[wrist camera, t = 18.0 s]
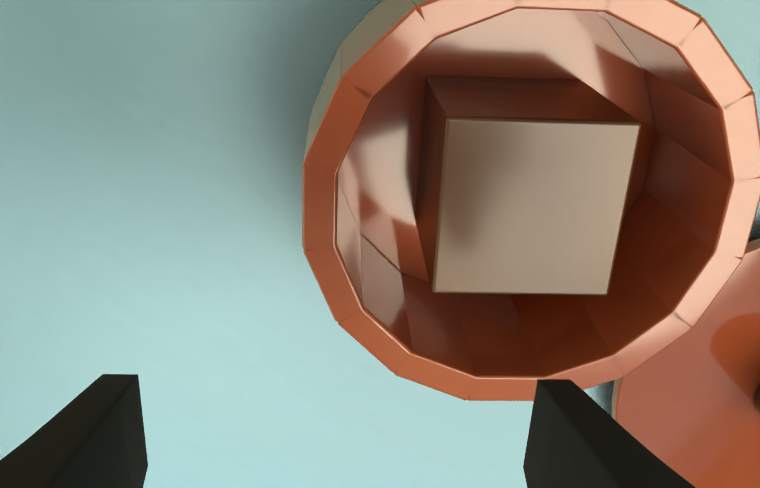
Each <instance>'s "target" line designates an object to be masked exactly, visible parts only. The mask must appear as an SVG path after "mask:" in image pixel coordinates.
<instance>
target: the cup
mask: <svg viewBox="0 0 760 488" xmlns="http://www.w3.org/2000/svg"><path fill="white" fill-rule="evenodd" d="M426 76H459V77H489V78H519V79H549V80H579V81H583V82H585V83H586V84H588V85H589V86H590V87H592V88H593V89H595V90H596V91H597V92H599V93H600V94H602V95H603V96H604V97H606V98H607V99H609V100H610V101H611V102H613V103H614V104H616V105H617V106H618V107H620V108H621V109H623V110H624V111H625V112H627V113H628V114H630V115H631V116H632V117H634V118H635V119H637V120H638V121H639V122H641V129H640V135H639V140H638V145H637V150H636V155H635V160H634V165H633V170H632V175H631V180H630V185H629V190H628V195H627V201H626V206H625V211H624V216H623V221H622V226H621V231H620V236H619V241H618V246H617V251H616V256H615V262H614V267H613V272H612V277H611V282H610V287H609V292H608V295H606V296H594V295H529V294H465V293H433V292H432V290H431V286H430V282H429V278H428V273H427V269H426V265H425V260H424V256H423V252H422V247H421V243H420V239H419V234H418V230H417V226H416V208H417V193H418V179H419V164H420V149H421V134H422V120H423V105H424V90H425V78H426ZM752 90H753V89H752V86H751V85H750V83H749V82H748V81H747V79H746V78H745V76H744V75H743V73H742V72H741V70H740V69H739V68H738V66H737V65H736V63H735V62H734V60H733V59H732V57H731V56H730V54H729V53H728V52H727V50H726V49H725V47H724V46H723V44H722V43H721V41H720V40H719V39H718V37H717V36H716V34H715V33H714V31H713V30H712V28H711V27H710V26H709V24H708V23H707V21H706V20H705V19H704V18H703V17H701V15H700V14H698V13H697V12H695V11H693V10H691V9H689V8H687V7H685V6H683V5H682V4H680V3H678V2H676V1H674V0H382V1H381V2H380V3H379V4H378V5H376V6H375V7H374V8H373V9H372V10H370V11H369V13H368V14H367V15H366V16H365V17H364V18H363V19H362V20H361V21H360V22H359V24H358V25H357V26H356V27H355V28H354V29H353V30H352V32H351V33H350V34H349V35H348V36H347V37H346V38H345V39H344V40H343V42H342V43H341V44H340V46H339V48H338V50H337V53H336V55H335V57H334V60H333V62H332V64H331V65H330V67H329V69H328V71H327V73H326V76H325V79H324V81H323V84H322V87H321V90H320V92H319V95H318V97H317V99H316V101H315V104H314V106H313V108H312V111H311V116H310V122H309V128H308V135H307V141H306V147H305V153H304V159H303V165H302V246H303V249H304V254H305V256H306V258H307V260H308V263H309V265H310V267H311V269H312V271H313V274H314V276H315V278H316V280H317V282H318V284H319V287H320V289H321V291H322V293H323V295H324V298H325V300H326V302H327V304H328V306H329V308H330V311H331V313H332V315H333V317H334V319H335V320H336V321H337V322H338V324H339V325H340V326H341V327H342V328H343V329H344V330H345V331H347V332H348V333H349V334H350V335H351V336H352V337H353V338H354V339H356V340H357V341H358V342H359V343H360V344H361V345H362V346H363V347H365V348H366V349H367V350H368V351H369V352H370V353H371V354H372V355H374V356H375V357H376V358H377V359H378V360H379V361H380V362H381V363H383V364H384V365H385V366H386V367H387V368H388V369H389V370H390V371H392V372H394V374H395V375H397V376H400V377H402V378H405V379H408V380H411V381H413V382H416V383H419V384H422V385H424V386H427V387H430V388H433V389H435V390H438V391H441V392H444V393H447V394H449V395H452V396H455V397H458V398H460V399H463V400H467V399H468V400H470V401H534V398H535V392H536V386H537V380H538V379H570V380H572V381H573V382H574V383H575V384H576V385H577V386H579V387H580V388H581V389H582V390H584V389H587V388H590V387H594V386H597V385H600V384H603V383H606V382H609V381H612V380H615V379H619V378H622V377H624V375H625V376H626V375H627V374H629V373H630V372H632V371H633V370H635V369H636V368H637V367H639V366H640V365H642V364H643V363H644V362H646V361H647V360H649V359H650V358H651V357H653V356H654V355H656V354H657V353H658V352H660V351H661V350H663V349H664V348H666V347H667V346H668V345H670V344H671V343H673V342H674V341H675V340H677V339H678V338H680V337H681V336H682V335H684V334H685V333H687V332H688V331H690V330H691V329H692V327H694V326H695V325H696V323H697V322H698V321H699V319H700V318H701V317H702V315H703V314H704V313H705V311H706V310H707V308H708V307H709V306H710V304H711V303H712V302H713V300H714V299H715V297H716V296H717V295H718V293H719V292H720V291H721V289H722V288H723V287H724V285H725V284H726V282H727V281H728V280H729V278H730V277H731V276H732V274H733V273H734V272H735V270H736V269H737V267H738V266H739V265H740V263H741V262H742V260H743V259H742V258H743V257H744V255H745V251H746V248H747V244H748V241H749V237H750V233H751V230H752V226H753V223H754V219H755V216H756V212H757V208H758V205H759V201H760V129H759V122H758V115H757V108H756V101H755V94H754V92H753V91H752Z"/></svg>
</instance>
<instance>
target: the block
mask: <svg viewBox="0 0 760 488" xmlns="http://www.w3.org/2000/svg"><path fill="white" fill-rule="evenodd" d="M640 129H641V122H639V121H638V120H637V119H635V118H634V117H632V116H631V115H630V114H628V113H627V112H625V111H624V110H623V109H621V108H620V107H618V106H617V105H616V104H614V103H613V102H611V101H610V100H609V99H607V98H606V97H604V96H603V95H602V94H600V93H599V92H597V91H596V90H595V89H593V88H592V87H590V86H589V85H588V84H586V83H585V82H583V81H579V80H549V79H519V78H489V77H459V76H426V78H425V90H424V105H423V120H422V134H421V149H420V164H419V179H418V193H417V208H416V226H417V230H418V234H419V239H420V243H421V247H422V252H423V256H424V260H425V265H426V269H427V273H428V278H429V282H430V286H431V290H432V292H433V293H465V294H529V295H594V296H606V295H608V292H609V287H610V282H611V277H612V272H613V267H614V262H615V256H616V251H617V246H618V241H619V236H620V231H621V226H622V221H623V216H624V211H625V206H626V201H627V195H628V190H629V185H630V180H631V175H632V170H633V165H634V160H635V155H636V150H637V145H638V140H639V135H640Z"/></svg>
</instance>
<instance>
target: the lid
mask: <svg viewBox="0 0 760 488" xmlns="http://www.w3.org/2000/svg"><path fill="white" fill-rule="evenodd" d="M742 259H743V260H742V262H741V263H740V265H739V266H738V267H737V269H736V270H735V272H734V273H733V274H732V276H731V277H730V278H729V280H728V281H727V282H726V284H725V285H724V287H723V288H722V289H721V291H720V292H719V293H718V295H717V296H716V297H715V299H714V300H713V302H712V303H711V304H710V306H709V307H708V308H707V310H706V311H705V313H704V314H703V315H702V317H701V318H700V319H699V321H698V322H697V323H696V325H695V326H694V327H692V329H691V330H690V331H688V332H687V333H685V334H684V335H682V336H681V337H680V338H678V339H677V340H675V341H674V342H673V343H671V344H670V345H668V346H667V347H666V348H664V349H663V350H661V351H660V352H658V353H657V354H656V355H654V356H653V357H651V358H650V359H649V360H647V361H646V362H644V363H643V364H642V365H640V366H639V367H637V368H636V369H635V370H633V371H632V372H630V373H629V374H627V375H626V376H625V375H624V377H622V378H619V379H615V381H614V386H613V394H612V401H611V404H612V418H613V419H614V420H615V421H617V422H618V423H619V424H620V425H621V426H622V427H623V428H624V429H625V430H627V431H628V432H629V433H630V434H631V435H632V436H633V437H634V438H636V439H637V440H638V441H639V442H640V443H641V444H642V445H644V446H645V447H646V448H647V449H648V450H649V451H651V452H652V453H653V454H654V455H655V456H657V457H658V458H659V459H660V460H661V461H663V462H664V463H665V464H666V465H667V466H669V467H670V468H671V469H673V470H674V471H675V472H676V473H678V474H679V475H680V476H682V477H683V478H684V479H685V480H687V481H688V482H689V483H690V484H692V485H693V486H694V487H696V488H760V238H758V239H756V240H753V241H751V242H748V244H747V248H746V251H745V255H744V257H743V258H742Z"/></svg>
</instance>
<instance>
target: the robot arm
mask: <svg viewBox="0 0 760 488" xmlns="http://www.w3.org/2000/svg"><path fill="white" fill-rule="evenodd" d="M147 467H148V462H147V453H146V444H145V435H144V425H143V416H142V407H141V398H140V389H139V380H138V375H127V374H103V375H102V376H100V377H99V378H98V379H97V380H95V381H94V382H93V383H92V384H91V385H90V386H89V387H87V388H86V389H85V390H84V391H83V392H82V393H81V394H79V395H78V396H77V397H76V398H75V399H74V400H73V401H71V402H70V403H69V404H68V405H67V406H66V407H65V408H63V409H62V410H61V411H60V412H59V413H58V414H56V415H55V416H54V417H53V418H52V419H51V420H50V421H48V422H47V423H46V424H45V425H44V426H42V427H41V428H40V429H39V430H38V431H37V432H35V433H34V434H33V435H32V436H31V437H29V438H28V439H27V440H26V441H25V442H23V443H22V444H21V445H20V446H18V447H17V448H16V449H14V450H13V451H12V452H11V453H9V454H8V455H7V456H5V457H4V458H3V459H1V460H0V488H143V484H144V480H145V476H146V471H147ZM523 468H524V473H525V478H526V483H527V488H696V487H694V486H693V485H692V484H690V483H689V482H688V481H687V480H685V479H684V478H683V477H682V476H680V475H679V474H678V473H676V472H675V471H674V470H673V469H671V468H670V467H669V466H667V465H666V464H665V463H664V462H663V461H661V460H660V459H659V458H658V457H657V456H655V455H654V454H653V453H652V452H651V451H649V450H648V449H647V448H646V447H645V446H644V445H642V444H641V443H640V442H639V441H638V440H637V439H636V438H634V437H633V436H632V435H631V434H630V433H629V432H628V431H627V430H625V429H624V428H623V427H622V426H621V425H620V424H619V423H618V422H617V421H615V420H614V419H613V418H612V417H611V416H610V415H609V414H608V413H607V412H606V411H605V410H604V409H602V408H601V407H600V406H599V405H598V404H597V403H596V402H595V401H594V400H593V399H592V398H591V397H589V396H588V395H587V394H586V393H585V392H584V391H583V390H582V389H581V388H580V387H579V386H577V385H576V384H575V383H574V382H573V381H572V380H570V379H538V380H537V386H536V392H535V398H534V404H533V410H532V416H531V423H530V429H529V435H528V441H527V447H526V453H525V459H524V465H523Z"/></svg>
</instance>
